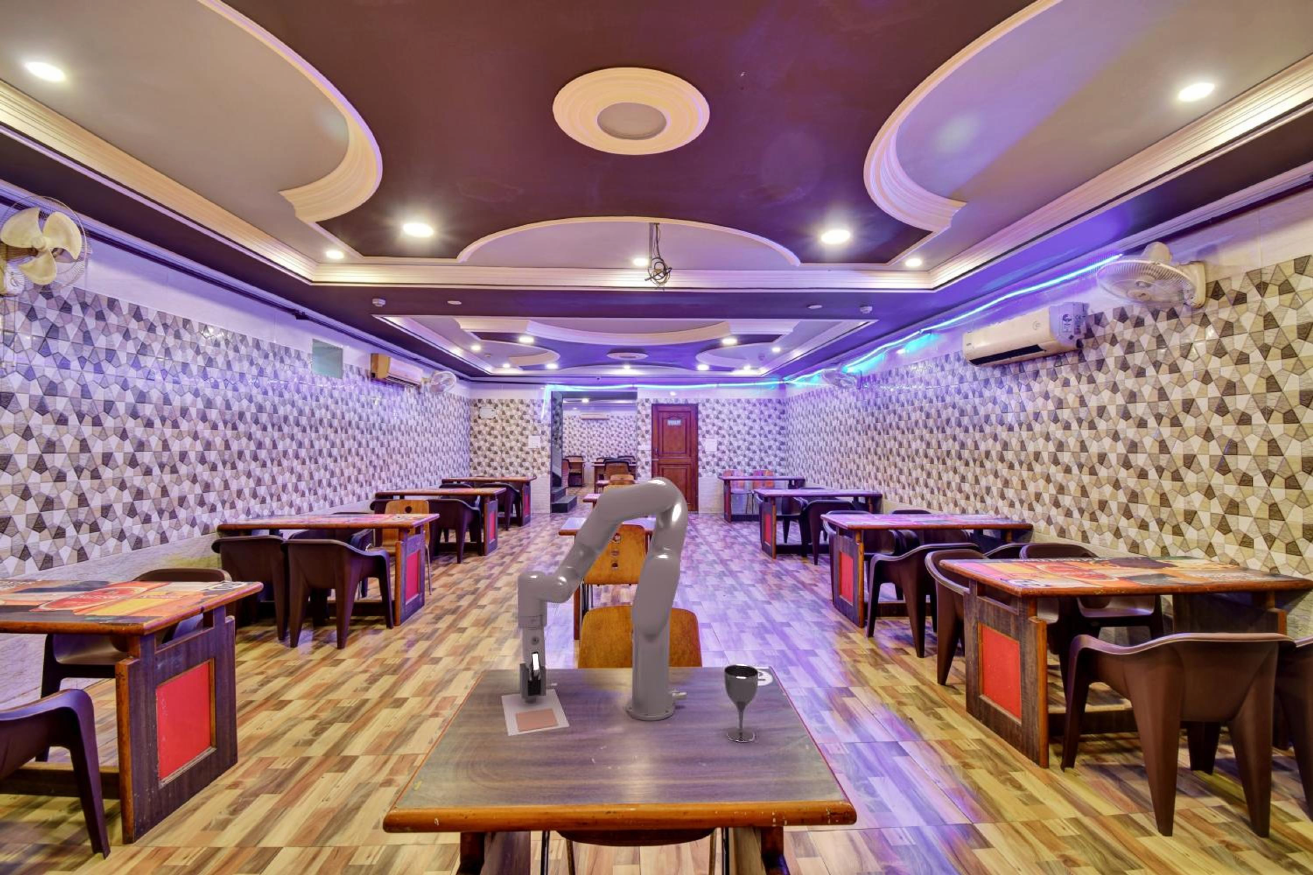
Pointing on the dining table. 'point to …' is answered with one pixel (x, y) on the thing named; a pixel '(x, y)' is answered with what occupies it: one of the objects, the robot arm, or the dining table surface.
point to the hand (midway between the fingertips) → (532, 688)
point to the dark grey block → (525, 677)
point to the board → (533, 713)
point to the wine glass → (740, 695)
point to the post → (531, 700)
